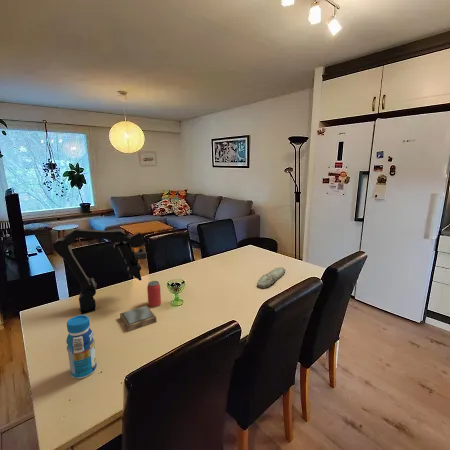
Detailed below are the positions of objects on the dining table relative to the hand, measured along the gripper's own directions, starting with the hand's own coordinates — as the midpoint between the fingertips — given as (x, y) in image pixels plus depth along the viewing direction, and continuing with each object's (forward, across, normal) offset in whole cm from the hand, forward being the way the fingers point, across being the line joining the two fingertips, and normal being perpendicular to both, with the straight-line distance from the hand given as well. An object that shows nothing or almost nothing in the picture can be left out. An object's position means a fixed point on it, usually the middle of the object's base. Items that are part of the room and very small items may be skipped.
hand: (139, 276), depth 142 cm
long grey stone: (+42, -4, -72) cm, 83 cm away
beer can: (+15, -8, -1) cm, 17 cm away
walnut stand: (+11, -20, +8) cm, 24 cm away
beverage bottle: (+4, -46, +28) cm, 54 cm away
